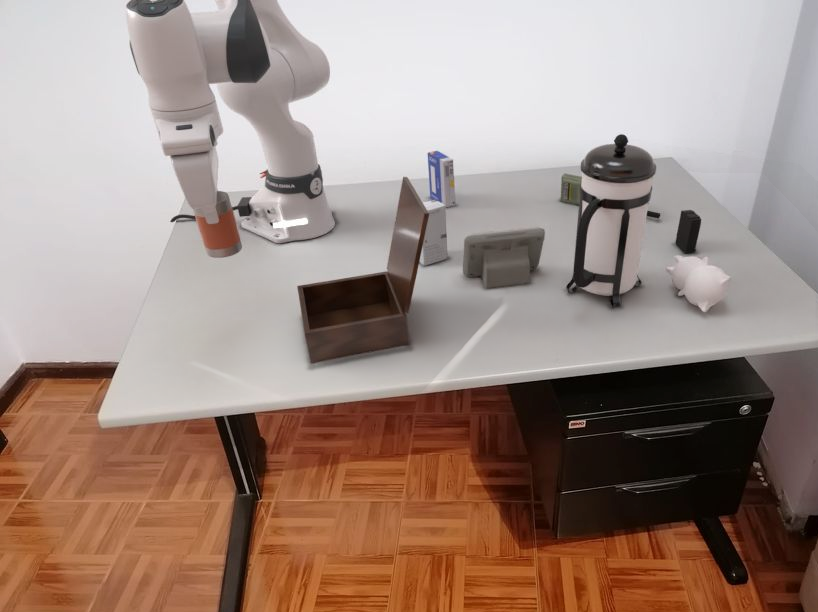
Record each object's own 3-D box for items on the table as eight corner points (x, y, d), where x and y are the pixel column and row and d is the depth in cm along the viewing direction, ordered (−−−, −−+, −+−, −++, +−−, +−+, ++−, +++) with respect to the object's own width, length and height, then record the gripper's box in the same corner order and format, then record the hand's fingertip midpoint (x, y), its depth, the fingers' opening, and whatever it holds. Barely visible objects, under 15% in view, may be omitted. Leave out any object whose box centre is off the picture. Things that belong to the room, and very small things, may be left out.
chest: (311, 367, 106) (304, 333, 102) (303, 317, 119) (297, 285, 115) (409, 348, 110) (406, 315, 106) (392, 302, 122) (388, 270, 118)
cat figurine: (680, 240, 120) (720, 267, 110) (715, 259, 125) (756, 287, 116) (653, 279, 123) (689, 309, 113) (688, 296, 128) (726, 326, 119)
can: (198, 253, 103) (182, 201, 98) (224, 239, 107) (210, 188, 102) (224, 261, 101) (209, 207, 95) (250, 246, 105) (236, 194, 99)
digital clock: (540, 265, 132) (543, 218, 126) (544, 287, 125) (547, 238, 119) (463, 266, 133) (461, 219, 126) (462, 289, 126) (460, 240, 119)
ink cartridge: (695, 253, 135) (702, 218, 130) (685, 254, 135) (692, 219, 130) (684, 242, 139) (691, 208, 134) (675, 243, 139) (681, 209, 134)
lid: (424, 213, 96) (429, 213, 97) (403, 176, 109) (407, 177, 109) (404, 312, 105) (408, 313, 106) (386, 268, 118) (390, 268, 118)
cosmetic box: (424, 266, 133) (420, 213, 126) (413, 258, 136) (409, 205, 129) (449, 258, 136) (446, 205, 129) (438, 250, 139) (435, 198, 132)
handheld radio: (564, 197, 160) (661, 218, 149) (559, 202, 158) (656, 224, 147) (566, 171, 156) (665, 191, 145) (560, 176, 154) (660, 197, 143)
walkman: (430, 197, 162) (427, 151, 155) (439, 195, 163) (437, 149, 156) (445, 208, 157) (443, 160, 150) (455, 205, 158) (453, 158, 151)
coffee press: (553, 272, 130) (562, 123, 112) (630, 267, 131) (651, 119, 113) (570, 318, 116) (584, 157, 98) (656, 313, 117) (686, 152, 99)
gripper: (171, 106, 99) (196, 191, 107) (159, 148, 83) (189, 243, 91) (213, 102, 100) (234, 186, 109) (209, 142, 85) (235, 236, 93)
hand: (214, 212), depth 100 cm, fingers closed on can, 6 cm apart
